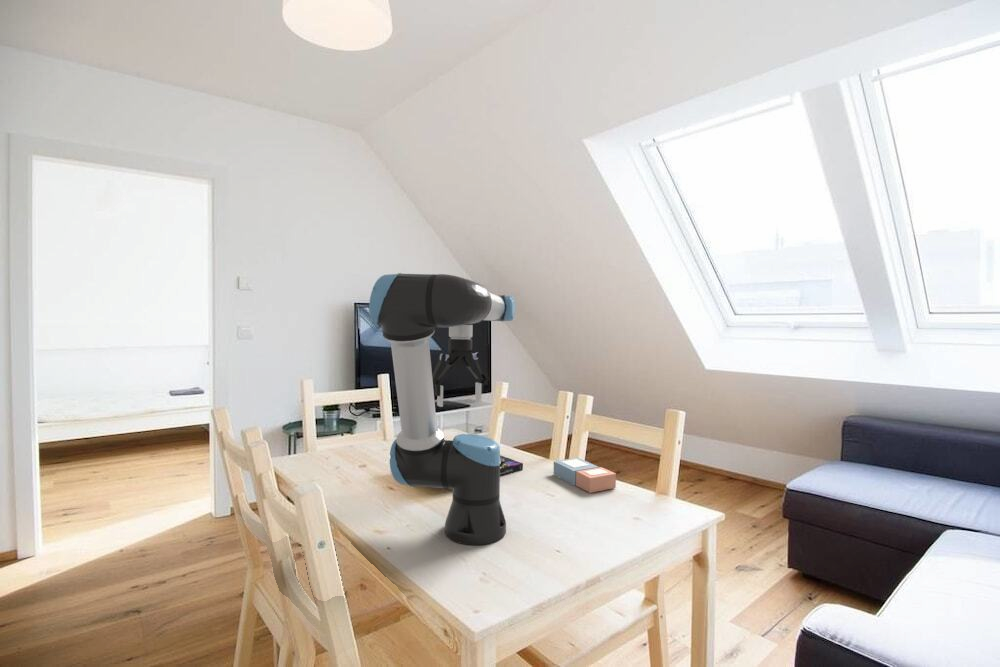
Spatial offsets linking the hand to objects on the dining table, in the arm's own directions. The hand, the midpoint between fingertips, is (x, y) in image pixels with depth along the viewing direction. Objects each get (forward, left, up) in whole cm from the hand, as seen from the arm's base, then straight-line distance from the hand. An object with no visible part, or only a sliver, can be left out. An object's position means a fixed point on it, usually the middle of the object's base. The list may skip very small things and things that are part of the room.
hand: (459, 404), depth 160 cm
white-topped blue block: (-15, -36, -25) cm, 46 cm away
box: (+4, -13, -25) cm, 29 cm away
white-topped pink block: (-25, -36, -25) cm, 50 cm away
